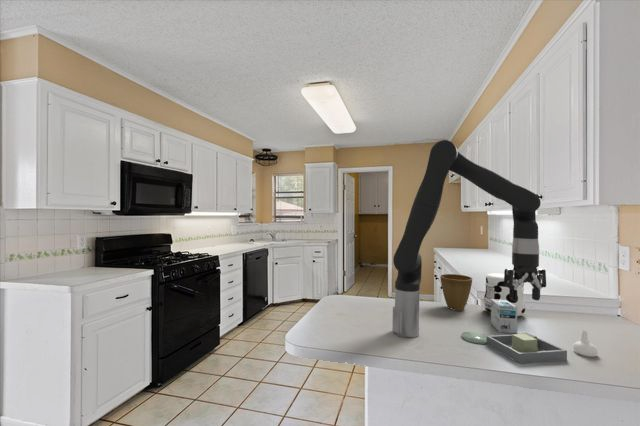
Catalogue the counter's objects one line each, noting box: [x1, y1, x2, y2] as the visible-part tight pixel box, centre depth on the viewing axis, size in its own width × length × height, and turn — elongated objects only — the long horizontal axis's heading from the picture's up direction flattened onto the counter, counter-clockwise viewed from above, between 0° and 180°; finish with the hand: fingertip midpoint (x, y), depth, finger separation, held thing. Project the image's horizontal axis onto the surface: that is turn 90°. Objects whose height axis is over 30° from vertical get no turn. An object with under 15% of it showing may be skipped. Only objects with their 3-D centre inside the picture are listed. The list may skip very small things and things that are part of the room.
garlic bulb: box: [572, 330, 599, 358], centre depth 105 cm, size 6×6×8 cm
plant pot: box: [439, 273, 473, 311], centre depth 155 cm, size 15×15×16 cm
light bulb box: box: [490, 299, 518, 334], centre depth 127 cm, size 11×7×11 cm, turn 168°
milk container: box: [482, 273, 526, 318], centre depth 147 cm, size 17×17×18 cm
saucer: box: [461, 331, 488, 345], centre depth 116 cm, size 10×10×1 cm
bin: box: [486, 334, 568, 364], centre depth 105 cm, size 18×15×3 cm
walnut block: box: [519, 332, 538, 339], centre depth 110 cm, size 4×4×4 cm
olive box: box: [511, 333, 538, 353], centre depth 103 cm, size 5×5×6 cm
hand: (524, 300), depth 103 cm, fingers open, 8 cm apart
